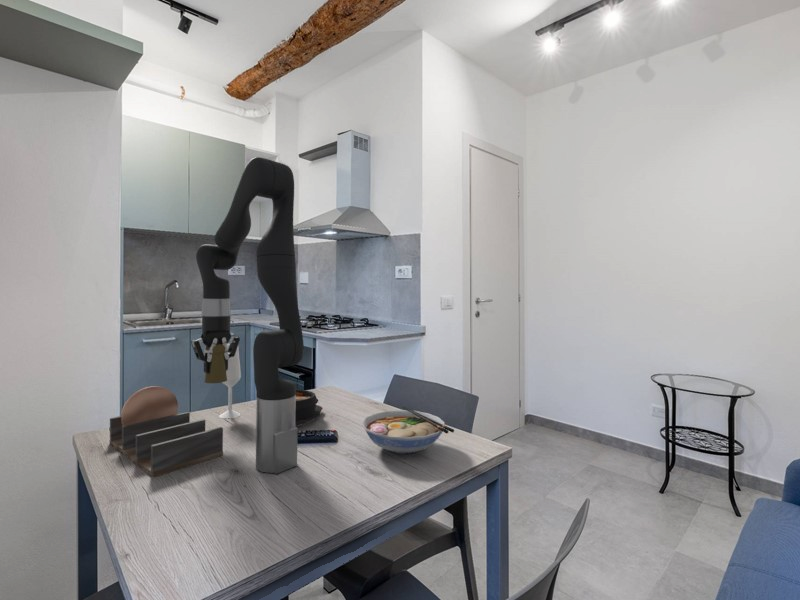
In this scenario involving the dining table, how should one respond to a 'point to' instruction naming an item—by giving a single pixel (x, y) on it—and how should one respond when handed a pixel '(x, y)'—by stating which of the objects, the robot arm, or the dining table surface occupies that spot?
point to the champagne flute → (232, 382)
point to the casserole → (306, 407)
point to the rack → (162, 433)
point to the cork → (217, 365)
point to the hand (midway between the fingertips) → (216, 373)
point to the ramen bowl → (404, 430)
